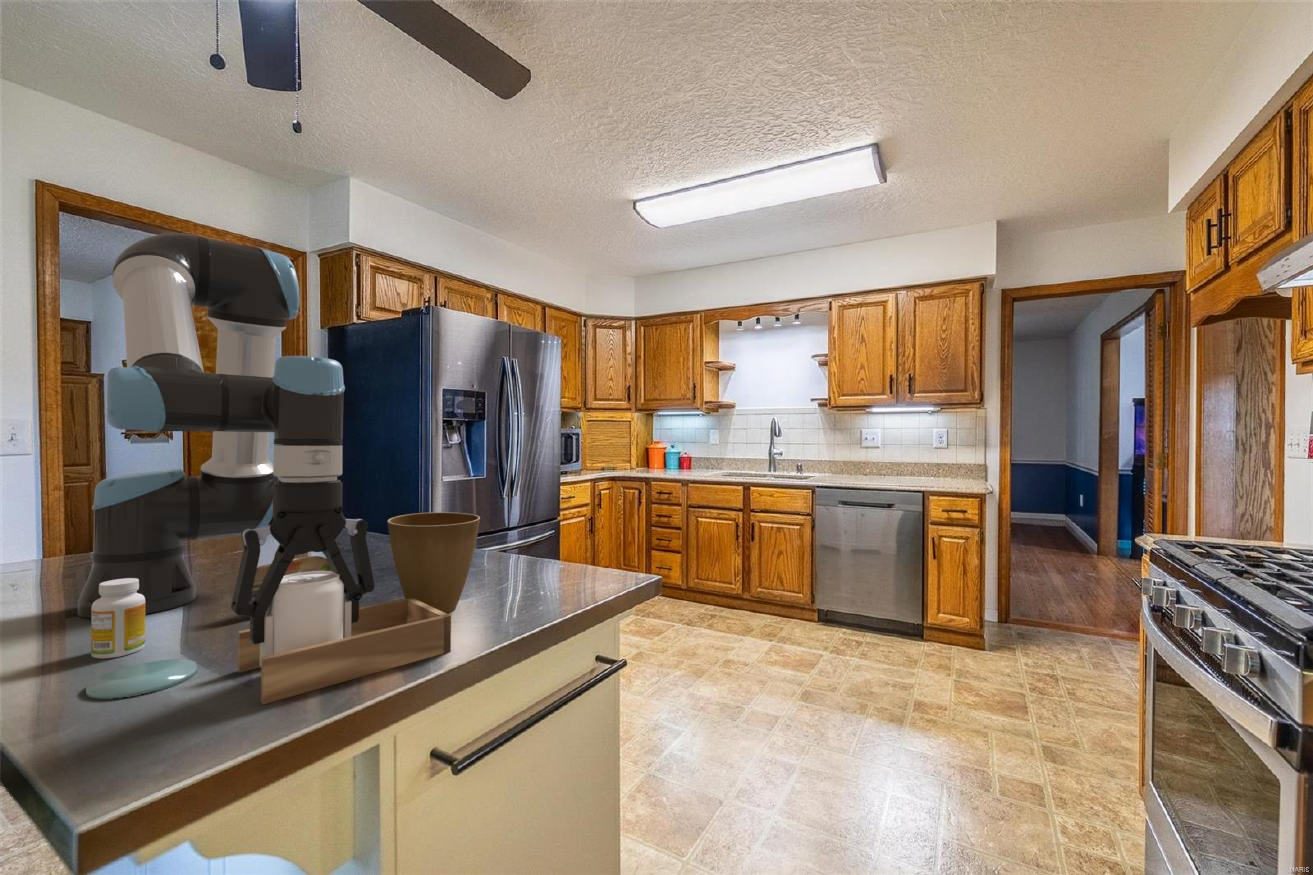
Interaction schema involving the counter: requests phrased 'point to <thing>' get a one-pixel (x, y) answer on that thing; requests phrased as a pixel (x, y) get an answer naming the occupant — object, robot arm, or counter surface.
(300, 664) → the brown wooden rectangular tray
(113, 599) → the supplement bottle
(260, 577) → the tin
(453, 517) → the plant pot
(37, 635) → the counter surface
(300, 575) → the beverage can
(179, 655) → the counter surface
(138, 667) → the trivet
